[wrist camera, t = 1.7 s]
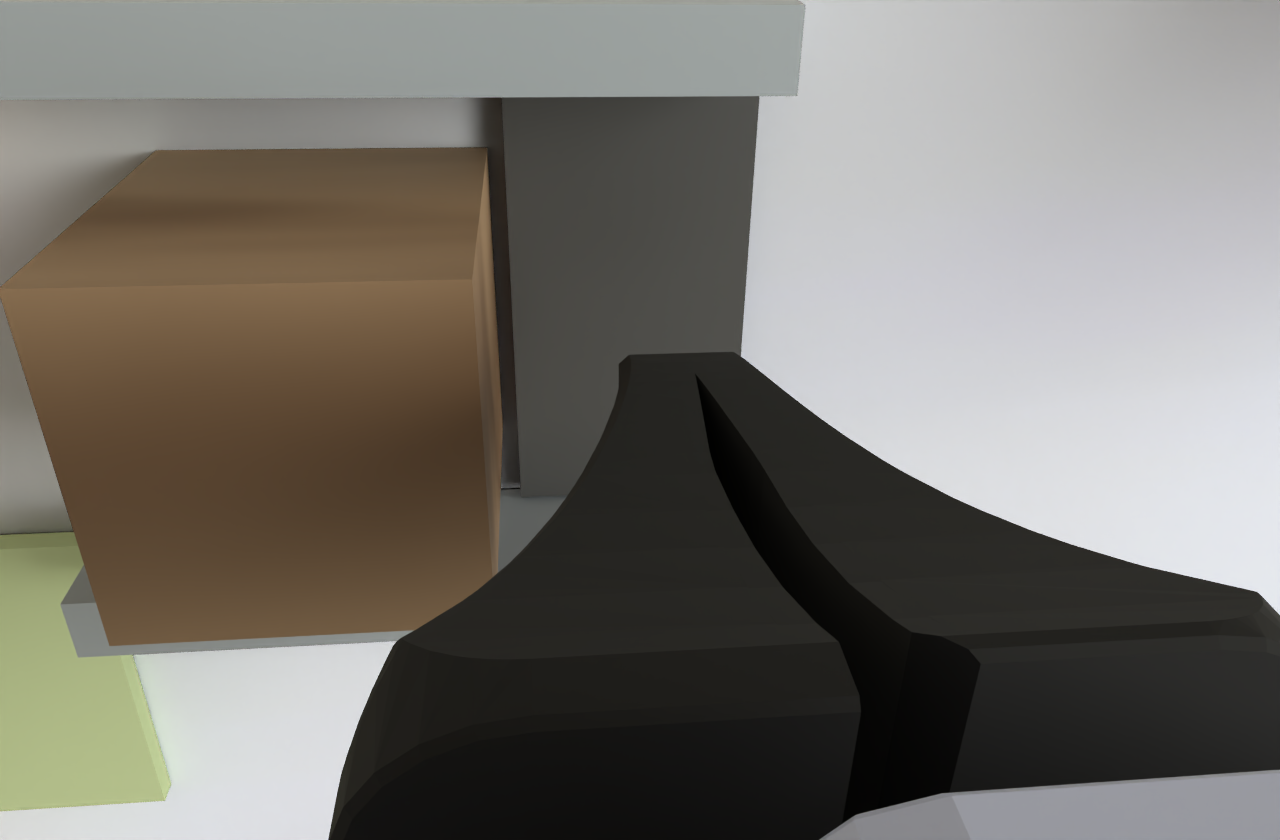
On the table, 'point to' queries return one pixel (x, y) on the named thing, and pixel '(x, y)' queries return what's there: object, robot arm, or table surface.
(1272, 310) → the table surface
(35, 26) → the goalpost shaped bracket
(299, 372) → the block
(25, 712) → the coaster
